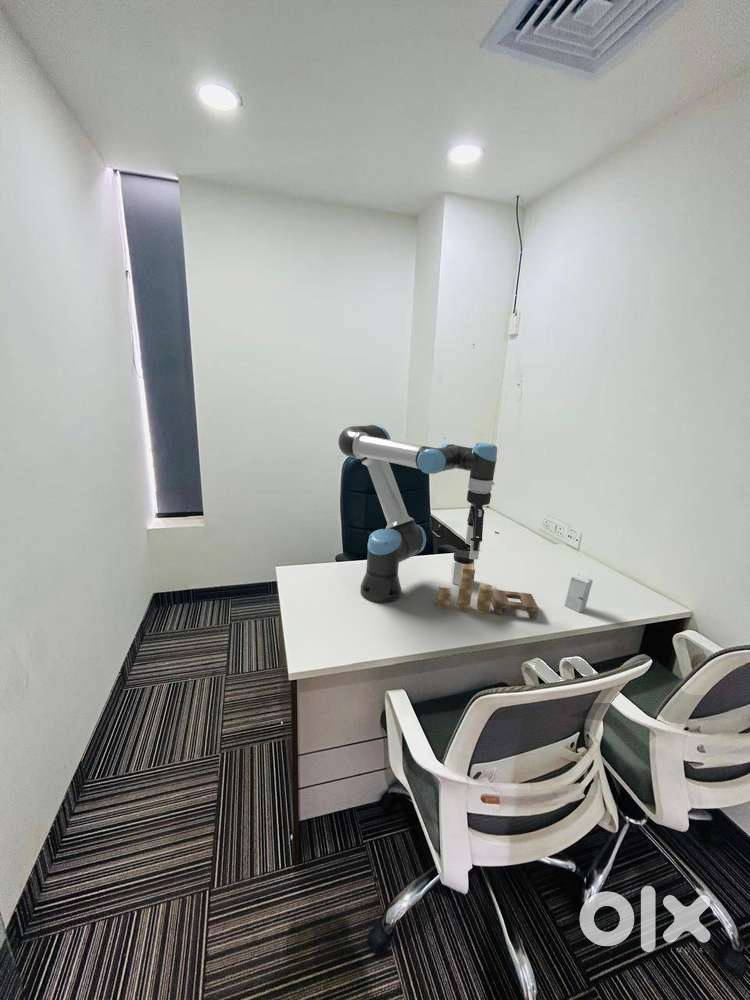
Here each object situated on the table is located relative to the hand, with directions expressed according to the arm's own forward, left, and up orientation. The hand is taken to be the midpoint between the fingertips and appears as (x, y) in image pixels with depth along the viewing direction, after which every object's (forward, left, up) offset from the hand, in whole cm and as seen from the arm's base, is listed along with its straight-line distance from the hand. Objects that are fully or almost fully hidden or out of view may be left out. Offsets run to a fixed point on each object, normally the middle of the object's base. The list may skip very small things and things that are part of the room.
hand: (471, 551), depth 141 cm
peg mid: (+7, 0, -22) cm, 23 cm away
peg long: (0, 0, -22) cm, 22 cm away
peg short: (-7, 0, -22) cm, 23 cm away
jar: (+1, +21, -22) cm, 31 cm away
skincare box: (+42, +10, -22) cm, 48 cm away
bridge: (+18, +3, -22) cm, 28 cm away
